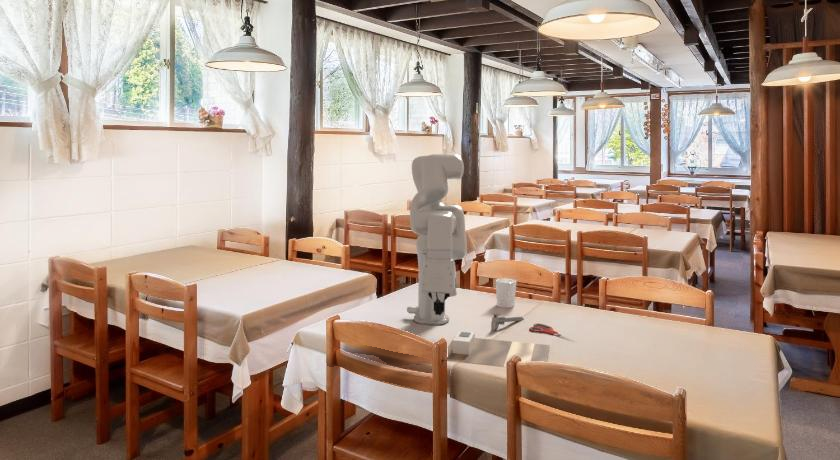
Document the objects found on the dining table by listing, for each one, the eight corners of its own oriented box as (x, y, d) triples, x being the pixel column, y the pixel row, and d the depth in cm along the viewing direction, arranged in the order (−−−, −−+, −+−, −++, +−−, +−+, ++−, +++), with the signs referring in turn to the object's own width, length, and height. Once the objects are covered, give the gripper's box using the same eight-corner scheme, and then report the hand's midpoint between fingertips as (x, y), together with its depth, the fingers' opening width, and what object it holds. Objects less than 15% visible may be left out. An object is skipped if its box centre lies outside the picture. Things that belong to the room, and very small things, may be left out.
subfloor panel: (439, 361, 170) (439, 359, 170) (455, 337, 191) (455, 336, 191) (545, 372, 162) (545, 371, 162) (549, 346, 183) (549, 345, 183)
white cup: (494, 307, 226) (495, 282, 224) (495, 302, 233) (496, 277, 232) (515, 308, 224) (516, 283, 223) (515, 303, 232) (516, 278, 230)
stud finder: (452, 353, 175) (452, 339, 174) (458, 343, 184) (458, 330, 183) (469, 354, 174) (469, 341, 173) (474, 344, 182) (474, 332, 182)
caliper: (493, 333, 196) (494, 315, 195) (490, 332, 196) (491, 314, 196) (523, 319, 211) (524, 302, 211) (521, 319, 212) (521, 302, 211)
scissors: (579, 346, 185) (579, 342, 184) (524, 331, 199) (524, 327, 199) (591, 341, 190) (592, 336, 190) (537, 326, 205) (537, 322, 204)
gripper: (412, 255, 175) (412, 315, 177) (461, 257, 171) (460, 319, 173) (419, 251, 182) (418, 309, 184) (466, 253, 178) (465, 312, 180)
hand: (439, 313), depth 178 cm, fingers closed
